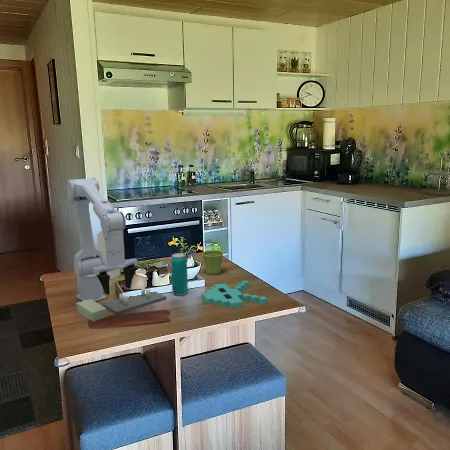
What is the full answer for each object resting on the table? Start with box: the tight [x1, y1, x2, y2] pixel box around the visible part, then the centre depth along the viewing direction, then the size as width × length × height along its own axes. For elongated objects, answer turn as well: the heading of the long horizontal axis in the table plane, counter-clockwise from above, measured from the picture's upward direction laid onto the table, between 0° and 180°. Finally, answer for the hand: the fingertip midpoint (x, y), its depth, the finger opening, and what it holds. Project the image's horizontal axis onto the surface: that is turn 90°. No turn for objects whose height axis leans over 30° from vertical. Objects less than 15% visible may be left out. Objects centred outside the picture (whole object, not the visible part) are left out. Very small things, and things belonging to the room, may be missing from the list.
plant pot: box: [201, 249, 225, 275], centre depth 193 cm, size 9×9×9 cm
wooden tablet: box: [87, 309, 171, 330], centre depth 148 cm, size 27×10×2 cm, turn 101°
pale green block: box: [76, 299, 108, 322], centre depth 152 cm, size 12×5×4 cm, turn 42°
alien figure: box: [201, 280, 268, 309], centre depth 165 cm, size 20×2×20 cm
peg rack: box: [102, 287, 167, 315], centre depth 161 cm, size 10×20×4 cm, turn 132°
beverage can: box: [170, 252, 189, 296], centre depth 168 cm, size 6×6×15 cm
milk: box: [96, 230, 121, 280], centre depth 189 cm, size 6×6×22 cm
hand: (117, 290), depth 146 cm, fingers open, 7 cm apart
